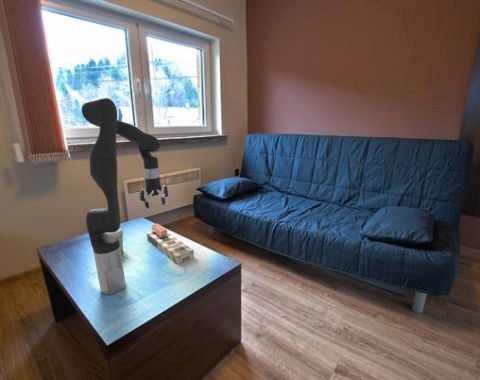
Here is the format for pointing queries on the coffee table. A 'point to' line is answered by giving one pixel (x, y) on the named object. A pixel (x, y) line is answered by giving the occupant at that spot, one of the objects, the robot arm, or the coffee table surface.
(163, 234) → the pinkish brown rectangular block
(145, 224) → the coffee table surface
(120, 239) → the coffee cup
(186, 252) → the rail
